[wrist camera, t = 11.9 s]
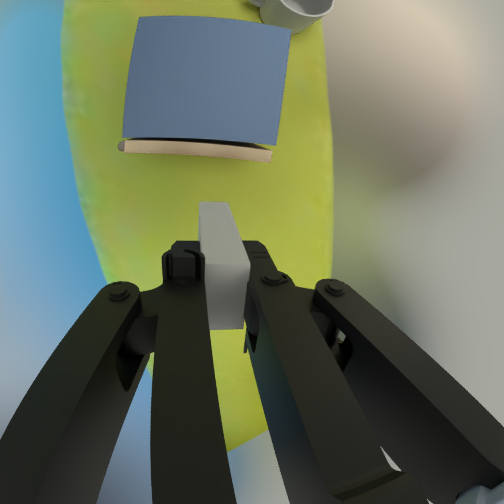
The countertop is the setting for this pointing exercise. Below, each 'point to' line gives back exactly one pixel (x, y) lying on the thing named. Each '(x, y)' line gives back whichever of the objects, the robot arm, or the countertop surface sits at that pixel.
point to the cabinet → (206, 79)
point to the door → (197, 148)
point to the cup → (292, 12)
